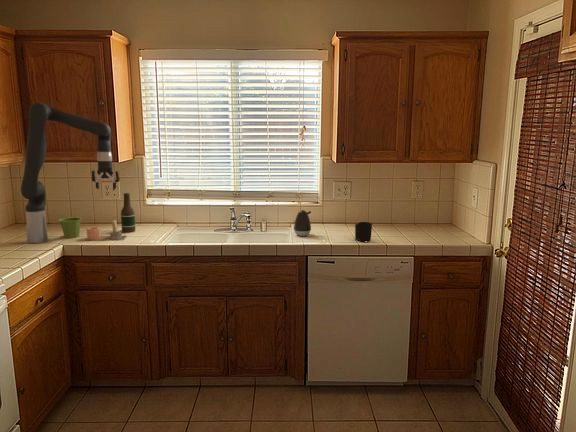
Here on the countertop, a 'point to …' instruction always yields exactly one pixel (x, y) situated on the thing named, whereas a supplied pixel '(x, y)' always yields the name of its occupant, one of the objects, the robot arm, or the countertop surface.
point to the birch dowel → (114, 227)
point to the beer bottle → (127, 215)
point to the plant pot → (71, 226)
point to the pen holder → (363, 231)
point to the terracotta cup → (93, 233)
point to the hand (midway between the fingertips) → (106, 189)
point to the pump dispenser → (302, 223)
